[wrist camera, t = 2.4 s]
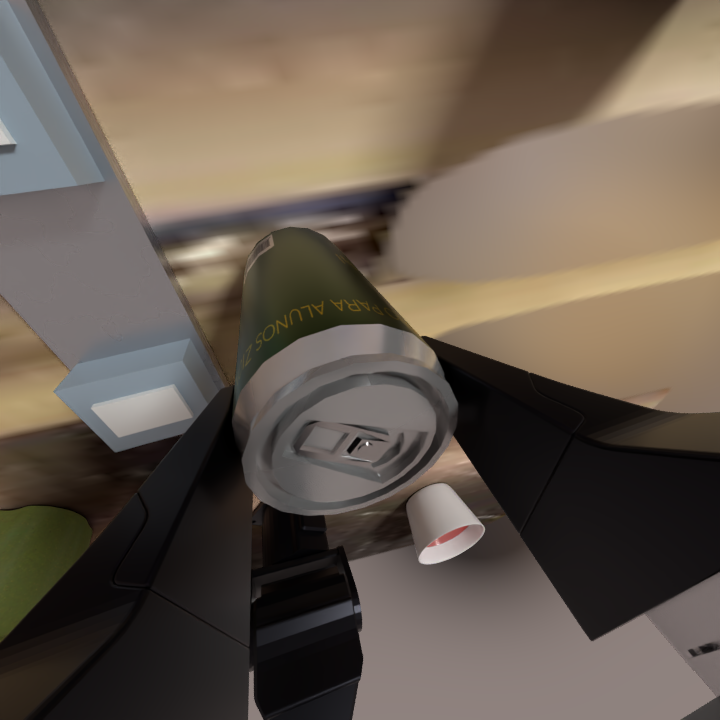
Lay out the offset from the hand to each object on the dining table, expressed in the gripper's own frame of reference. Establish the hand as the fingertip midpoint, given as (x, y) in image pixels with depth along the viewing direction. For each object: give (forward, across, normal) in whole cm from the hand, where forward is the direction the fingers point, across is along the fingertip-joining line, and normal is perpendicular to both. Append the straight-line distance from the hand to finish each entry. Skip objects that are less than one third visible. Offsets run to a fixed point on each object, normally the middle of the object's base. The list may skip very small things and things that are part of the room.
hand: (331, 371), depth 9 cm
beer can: (+9, 0, 0) cm, 9 cm away
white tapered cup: (+11, -11, +35) cm, 38 cm away
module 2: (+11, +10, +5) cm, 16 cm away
